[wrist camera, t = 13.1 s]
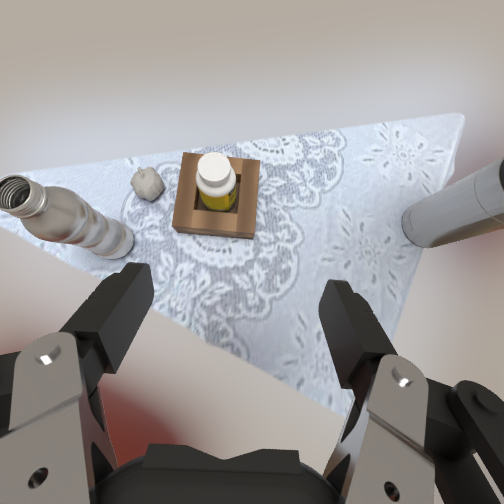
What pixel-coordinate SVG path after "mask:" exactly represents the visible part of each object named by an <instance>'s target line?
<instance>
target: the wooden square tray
mask: <svg viewBox="0 0 504 504" xmlns="http://www.w3.org/2000/svg"><path fill="white" fill-rule="evenodd" d="M203 155H205V154H196V153H187V152H183V157H182V163H181V170H180V176H179V182H178V189H177V195H176V201H175V208H174V214H173V220H172V227H173V228H174V229H175V230H176V231H177V232H178V233H188V234H199V235H210V236H221V237H232V238H243V239H253V237H254V234H255V221H256V208H257V195H258V182H259V169H260V160H252V159H242V158H233V157H227V158H228V160H229V162H230V165H231V167H232V168H233V170H234V172H235V175H236V202H235V205H234V207H233V208H232V209H231V210H230V211H229V212H228V213H223V212H212V211H208V210H207V209H206V207H205V206H204V204H203V201H202V198H201V195H200V192H199V189H198V186H197V183H196V173H197V170H198V162H199V160H200V158H201V157H202V156H203Z"/></svg>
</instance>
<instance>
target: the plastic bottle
mask: <svg viewBox="0 0 504 504" xmlns="http://www.w3.org/2000/svg"><path fill="white" fill-rule="evenodd" d="M0 209H1V210H2V211H5V212H8V213H9V214H11V215H12V216H15V217H17V218H20V220H21V222H22V224H23V225H24V227H25V228H26V230H28V231H29V232H30V233H31V234H32V235H34V236H35V237H37V238H39V239H41V240H45V241H50V242H57V243H65V244H72V245H76V246H80V247H83V248H85V249H87V250H90V251H92V252H93V253H94V254H96V255H98V256H99V257H101V258H104V259H118V258H121V257H123V256H125V255H126V254H127V253H128V252H129V251H130V249H131V248H132V245H133V241H134V238H133V234H132V232H131V230H130V229H129V228H128V227H127V226H126V225H125V224H124V223H122V222H120V221H117V220H114V219H110V218H108V217H106V216H103V215H102V214H100V213H99V212H98V211H96V210H95V209H93V208H92V207H91V206H90V205H89V204H88V203H87V202H86V201H85V200H83V199H82V198H81V197H80V196H79V195H78V194H76V193H75V192H73V191H71V190H69V189H66V188H62V187H56V186H50V187H43V186H41V185H40V184H38V183H36V182H33V181H31V180H29V179H28V178H26V177H24V176H21V175H10V176H7V177H4V178H2V179H1V180H0Z"/></svg>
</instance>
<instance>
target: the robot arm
mask: <svg viewBox="0 0 504 504" xmlns="http://www.w3.org/2000/svg"><path fill="white" fill-rule="evenodd" d="M402 225H403V229H404V232H405V234H406V236H407V237H408V238H409V239H410V240H411V241H412V242H413V243H414V244H416V245H418V246H420V247H424V248H433V247H437V246H440V245H444V244H448V243H452V242H456V241H460V240H463V239H467V238H471V237H475V236H478V235H482V234H486V233H490V232H493V231H497V230H501V229H504V157H503V158H501V159H499V160H497V161H495V162H493V163H491V164H489V165H487V166H486V167H484V168H482V169H480V170H478V171H476V172H475V173H473V174H471V175H469V176H467V177H465V178H463V179H461V180H460V181H458V182H456V183H454V184H452V185H450V186H448V187H446V188H445V189H443V190H441V191H439V192H437V193H435V194H433V195H431V196H430V197H428V198H426V199H424V200H422V201H420V202H418V203H416V204H415V205H413V206H411V207H409V208H408V209H407V210H406V211H405V213H404V215H403V218H402ZM153 298H154V287H153V281H152V276H151V270H150V266H149V264H147V263H135V262H129V263H127V264H126V266H125V267H124V268H123V269H122V271H121V272H120V273H114V274H112V275H110V276H109V277H107V278H106V279H104V280H103V281H102V282H101V283H100V284H99V285H98V287H97V288H96V289H95V291H94V292H92V294H91V295H90V296H89V297H88V300H85V302H84V303H83V304H82V305H81V306H80V307H79V309H78V310H77V311H76V312H75V313H74V314H73V316H72V317H71V318H70V319H69V320H68V322H67V323H66V324H65V325H64V326H63V327H62V328H61V330H60V331H59V332H56V333H52V334H48V335H45V336H43V337H41V338H38V339H37V340H35V341H33V342H32V343H30V344H29V345H28V346H27V347H25V348H24V349H23V350H22V351H19V352H14V353H9V354H4V355H0V504H434V481H435V484H436V486H437V488H438V491H439V493H440V495H441V497H442V500H443V502H444V504H501V503H500V501H499V499H498V498H497V496H496V494H495V493H494V491H493V489H492V487H491V486H490V484H489V482H488V481H487V479H486V477H485V475H484V474H483V472H482V470H481V468H480V467H479V465H478V463H477V462H476V460H475V458H474V457H473V455H472V454H474V453H476V452H477V453H478V455H479V456H480V458H481V460H482V461H483V463H484V465H485V466H486V468H487V470H488V471H489V473H490V475H491V476H492V478H493V480H494V481H495V483H496V485H497V486H498V488H499V490H500V492H501V493H502V494H503V497H504V402H503V401H502V400H501V399H500V398H499V397H498V396H497V395H496V394H494V393H493V392H491V391H490V390H488V389H487V388H486V387H484V386H482V385H480V384H478V383H475V382H472V381H467V380H464V381H460V382H459V383H458V384H456V385H455V387H450V386H448V385H445V384H442V383H439V382H436V381H434V380H431V379H428V378H426V377H424V375H423V373H422V372H421V371H420V370H419V369H418V368H417V367H416V366H415V365H414V364H413V363H411V362H410V361H408V360H407V359H405V358H403V357H401V356H398V354H397V352H396V351H395V349H394V347H393V345H392V344H391V342H390V340H389V339H388V337H387V335H386V333H385V332H384V330H383V328H382V326H381V325H380V323H379V322H378V319H377V318H376V316H375V314H373V311H372V309H371V307H370V306H369V304H368V302H367V301H366V300H365V299H364V298H363V297H362V296H361V295H360V294H358V293H354V292H353V290H352V288H351V286H350V285H349V283H348V282H347V281H343V280H331V279H330V280H328V282H327V284H326V287H325V289H324V292H323V295H322V297H321V300H320V303H319V318H320V321H321V324H322V327H323V331H324V334H325V337H326V340H327V344H328V347H329V350H330V353H331V357H332V360H333V363H334V366H335V370H336V373H337V376H338V379H339V382H340V386H341V389H352V390H353V393H354V396H355V397H354V398H353V400H352V403H351V405H350V408H349V411H348V414H347V417H346V419H345V422H344V425H343V428H342V431H341V433H340V436H339V439H338V442H337V444H336V447H335V449H334V451H333V453H332V455H331V457H330V459H329V461H328V463H327V465H326V468H325V470H324V473H323V475H321V474H319V473H318V472H317V471H315V470H314V469H313V468H311V467H309V466H308V465H306V464H304V463H302V462H300V460H299V453H298V450H278V449H260V450H257V451H253V452H250V453H247V454H243V455H240V456H237V457H234V458H230V459H226V460H222V459H219V458H216V457H214V456H211V455H209V454H207V453H204V452H202V451H199V450H197V449H194V448H192V447H190V446H187V445H170V444H149V445H148V448H147V451H146V455H143V456H140V457H138V458H135V459H133V460H131V461H129V462H127V463H125V464H124V465H122V466H120V467H119V468H118V465H117V461H116V457H115V453H114V450H113V447H112V444H111V441H110V438H109V434H108V429H107V424H106V418H105V413H104V408H103V403H102V397H101V392H100V387H99V384H98V382H99V381H100V379H101V377H102V375H103V373H109V374H116V372H117V370H118V368H119V366H120V364H121V362H122V360H123V358H124V356H125V354H126V352H127V351H128V349H129V347H130V345H131V343H132V341H133V339H134V337H135V335H136V333H137V331H138V329H139V327H140V325H141V323H142V321H143V319H144V318H145V316H146V314H147V312H148V310H149V308H150V306H151V304H152V301H153Z"/></svg>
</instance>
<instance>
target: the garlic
mask: <svg viewBox="0 0 504 504" xmlns="http://www.w3.org/2000/svg"><path fill="white" fill-rule="evenodd" d="M130 183H131V185H132V186H133V189H134V190H135V193H136V194H137V195H138V197H140V198H146V199H147V200H148V201H152V200H154V199H155V198H157V197H158V196H159V195H160V193H161V192H162V191H163V188H164V184H163V181H162V179H161V177H160V175H159V174H158V173H156V171H155V169H154V168H152V167H148V168H146V169H141V168H140V167H138V172H137V173H135V174H134V176H133V177H132V180H131V182H130Z"/></svg>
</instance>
